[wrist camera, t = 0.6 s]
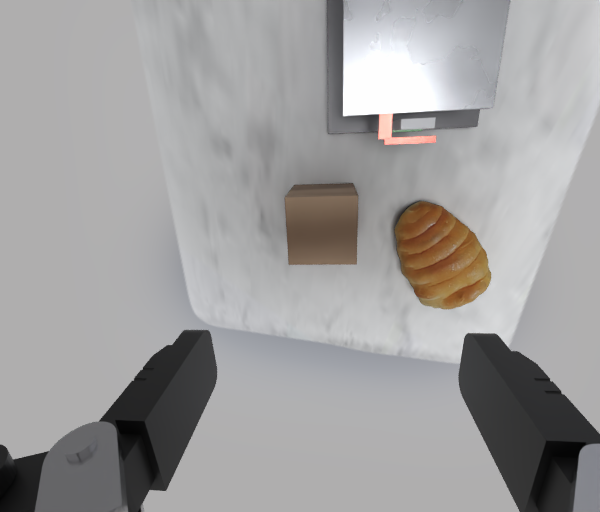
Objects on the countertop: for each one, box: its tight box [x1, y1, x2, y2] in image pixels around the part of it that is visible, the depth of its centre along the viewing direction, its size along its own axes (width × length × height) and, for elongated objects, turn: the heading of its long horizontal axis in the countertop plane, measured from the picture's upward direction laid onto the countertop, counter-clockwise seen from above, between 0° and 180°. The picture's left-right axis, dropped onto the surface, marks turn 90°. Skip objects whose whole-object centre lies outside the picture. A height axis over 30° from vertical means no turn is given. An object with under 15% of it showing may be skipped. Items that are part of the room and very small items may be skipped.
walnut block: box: [285, 183, 358, 265], centre depth 25 cm, size 5×5×6 cm
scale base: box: [327, 0, 480, 134], centre depth 20 cm, size 11×11×6 cm
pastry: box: [395, 201, 491, 309], centre depth 26 cm, size 9×7×4 cm
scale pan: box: [343, 0, 510, 145], centre depth 19 cm, size 11×9×2 cm
